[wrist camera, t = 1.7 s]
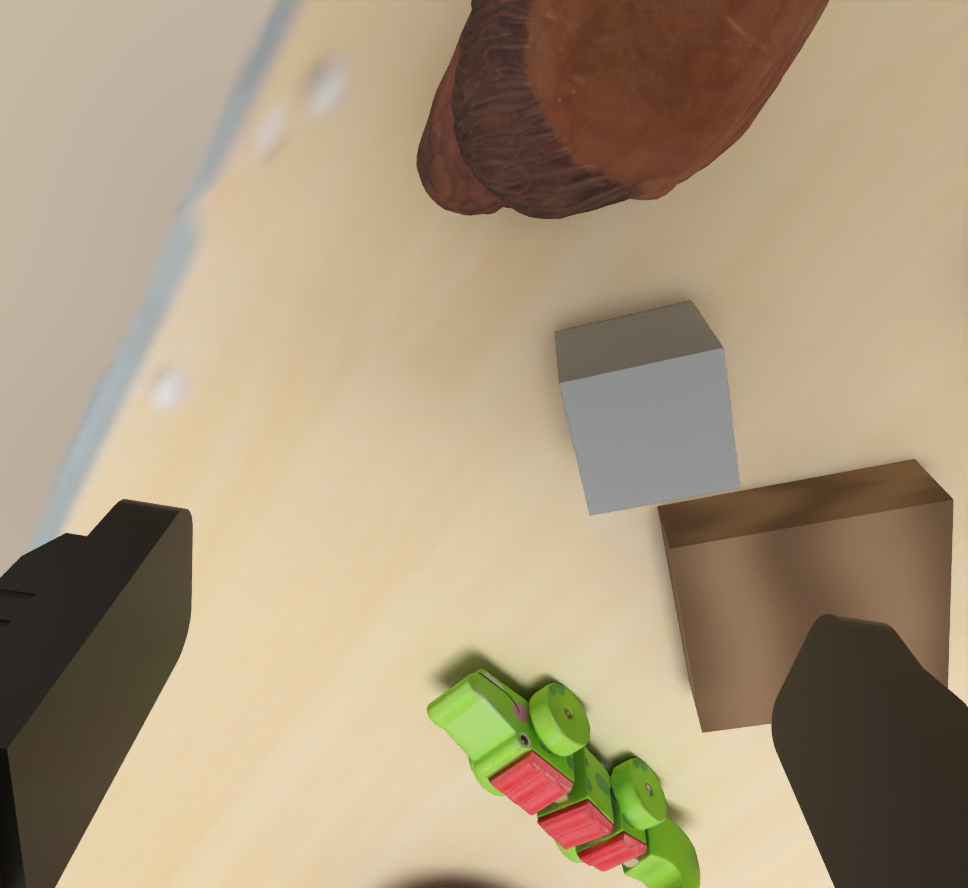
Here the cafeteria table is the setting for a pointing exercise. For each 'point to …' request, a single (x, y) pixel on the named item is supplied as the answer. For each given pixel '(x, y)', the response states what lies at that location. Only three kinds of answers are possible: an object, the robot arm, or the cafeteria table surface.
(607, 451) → the slate cube
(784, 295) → the cafeteria table surface
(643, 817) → the toy crocodile
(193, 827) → the cafeteria table surface
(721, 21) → the wooden figurine
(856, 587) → the walnut slab
